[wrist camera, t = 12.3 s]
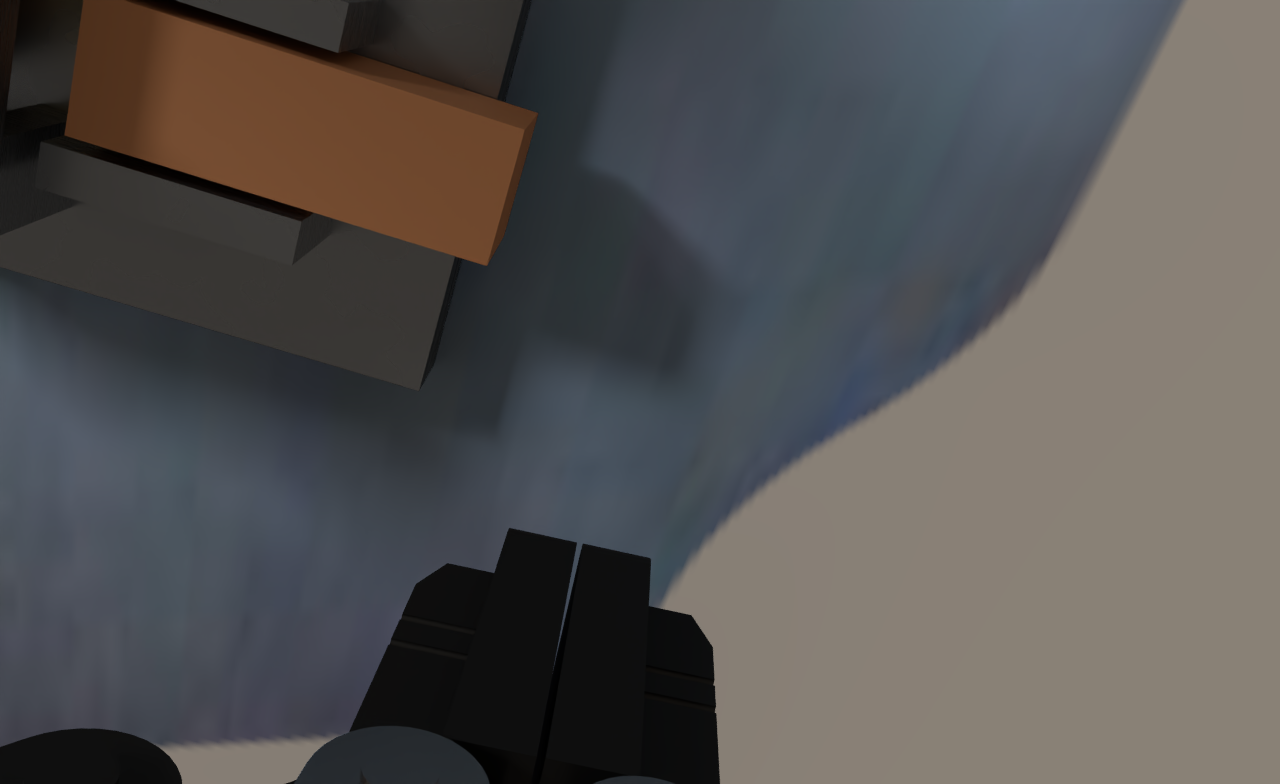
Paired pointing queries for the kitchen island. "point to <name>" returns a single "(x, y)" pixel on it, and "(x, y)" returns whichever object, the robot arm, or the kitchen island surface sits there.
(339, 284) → the dock
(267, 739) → the kitchen island surface
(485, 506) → the kitchen island surface
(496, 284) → the kitchen island surface
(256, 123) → the lock pin
